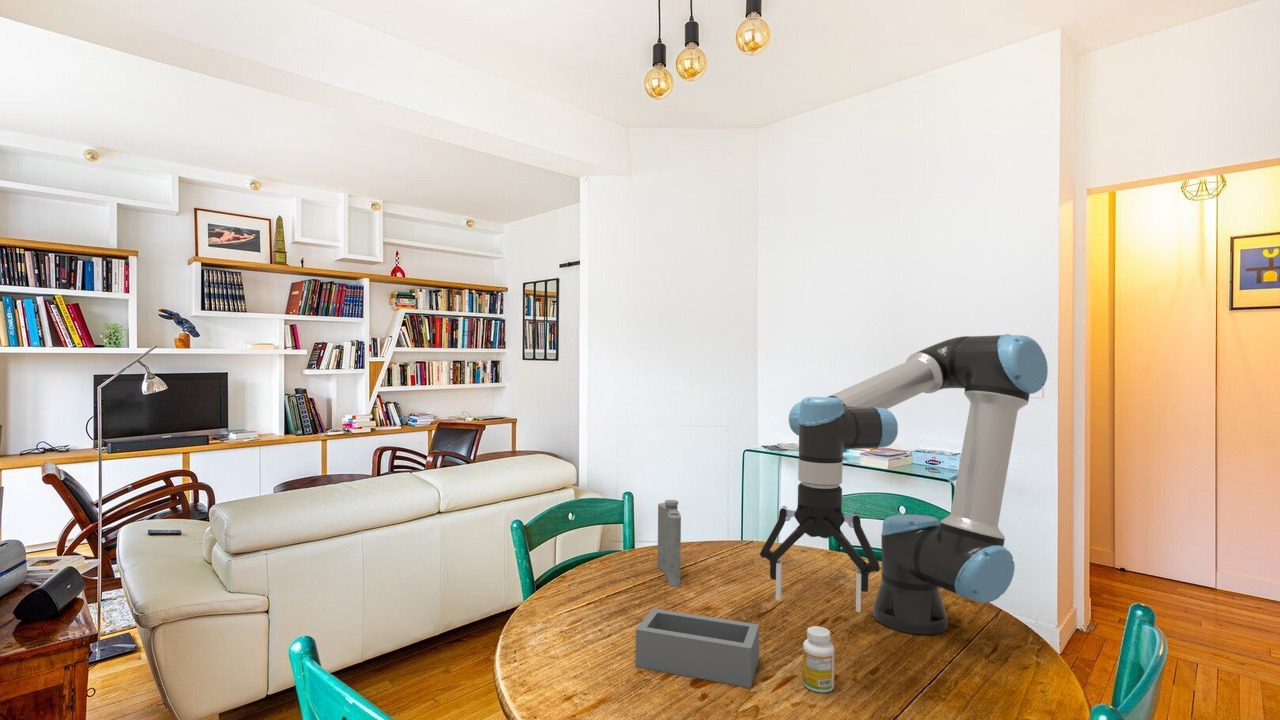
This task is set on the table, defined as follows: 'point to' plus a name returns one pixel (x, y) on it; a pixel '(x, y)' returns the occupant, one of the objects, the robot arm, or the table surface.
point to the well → (698, 647)
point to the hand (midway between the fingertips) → (817, 603)
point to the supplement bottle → (818, 660)
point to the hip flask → (669, 541)
